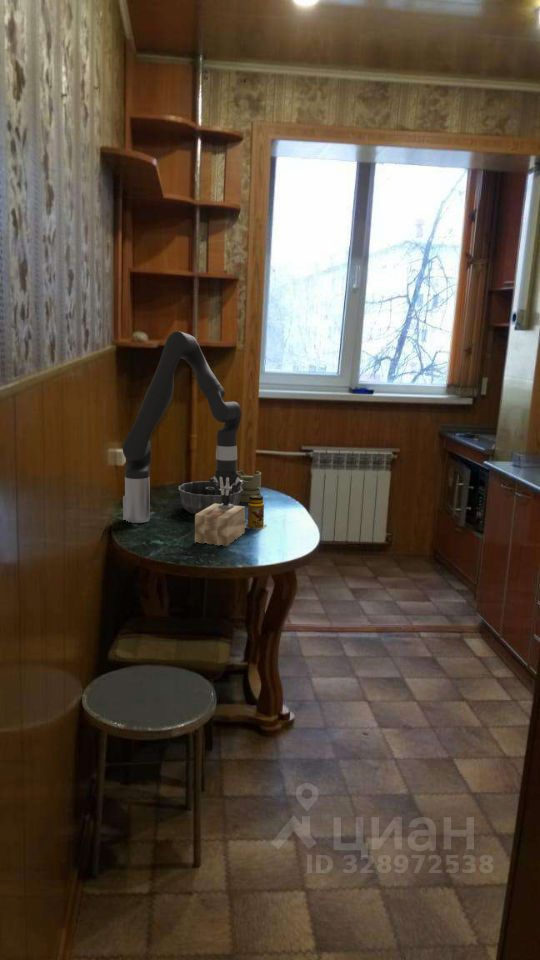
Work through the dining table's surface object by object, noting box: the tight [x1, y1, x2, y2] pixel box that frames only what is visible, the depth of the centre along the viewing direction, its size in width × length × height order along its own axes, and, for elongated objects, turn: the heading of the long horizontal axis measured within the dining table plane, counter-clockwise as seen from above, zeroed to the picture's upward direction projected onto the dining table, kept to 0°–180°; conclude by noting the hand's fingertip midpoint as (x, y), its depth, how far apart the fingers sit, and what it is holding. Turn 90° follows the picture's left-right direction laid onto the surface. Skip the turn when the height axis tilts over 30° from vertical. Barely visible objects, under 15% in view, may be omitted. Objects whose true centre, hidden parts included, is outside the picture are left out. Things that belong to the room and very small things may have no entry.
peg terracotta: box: [208, 512, 223, 516], centre depth 249 cm, size 4×4×8 cm
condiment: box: [245, 495, 267, 530], centre depth 270 cm, size 7×8×12 cm
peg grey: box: [219, 503, 233, 510], centre depth 258 cm, size 4×4×8 cm
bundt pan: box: [178, 480, 243, 515], centre depth 291 cm, size 26×26×10 cm
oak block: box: [194, 503, 246, 547], centre depth 254 cm, size 12×18×10 cm, turn 162°
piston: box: [234, 470, 262, 503], centre depth 313 cm, size 11×12×11 cm
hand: (226, 504), depth 257 cm, fingers closed
